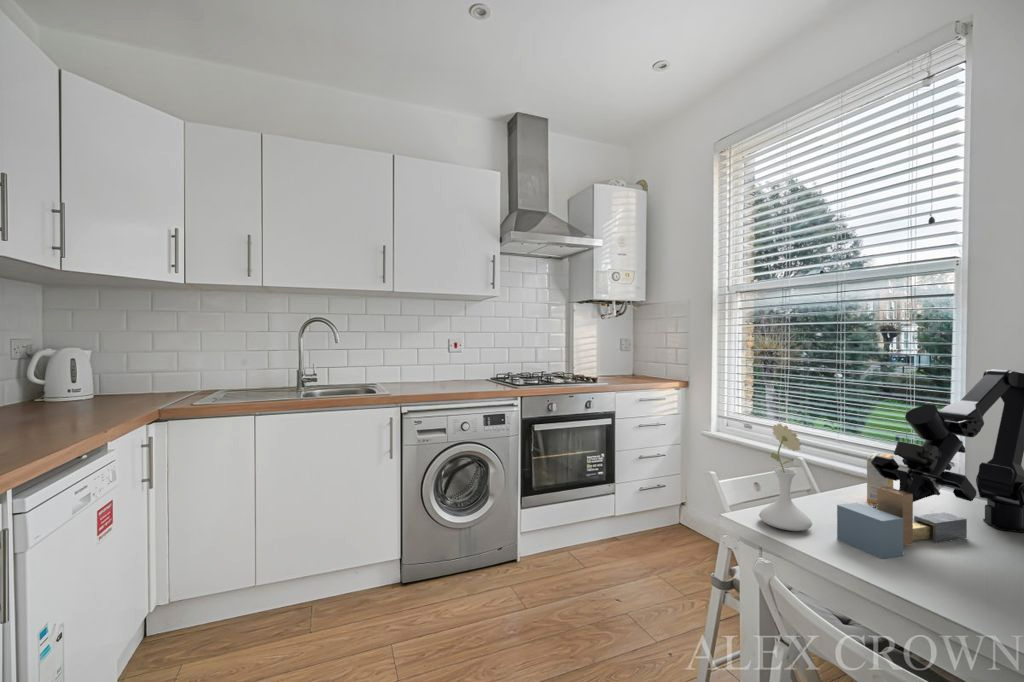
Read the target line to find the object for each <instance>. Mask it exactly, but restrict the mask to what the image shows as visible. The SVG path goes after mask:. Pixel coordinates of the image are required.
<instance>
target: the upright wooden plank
mask: <svg viewBox="0 0 1024 682" xmlns="http://www.w3.org/2000/svg"><path fill="white" fill-rule="evenodd" d="M876 509H877V510H880V511H883V512H886V513H889V514H892V515H895V516H898V517H900V518H903V546H909V545H910V546H911V545H913V544H914V541H917V540H925V538H932V537H933V525H930V524H927V523H924V522H915V523H914V514H913V513H914V502H913V494H911V493H907V492H904V491H900V490H899V489H897V488H894V487H893V488H890V487H877V504H876Z"/></svg>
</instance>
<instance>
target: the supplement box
mask: <svg viewBox="0 0 1024 682" xmlns="http://www.w3.org/2000/svg"><path fill="white" fill-rule="evenodd" d="M875 456H883V457H887V458H892V459H894V454H888V453H887V454H886V453H880V452H873V453H872V454H870V455H868V456H867V457H866V502H867V503H871V502H872V503H871V504H875V503H876V505H877V487H890V488H894V480H891V479H887V478H884V477H883V476H881V475H880V473H879V472H878V471H877V470H876V468H875V467H874V466H873V465H872V463H871V461H872V460H873V458H874V457H875Z"/></svg>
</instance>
